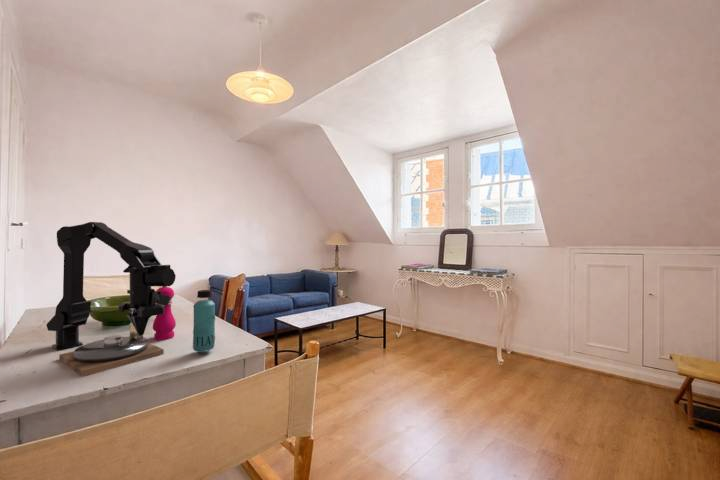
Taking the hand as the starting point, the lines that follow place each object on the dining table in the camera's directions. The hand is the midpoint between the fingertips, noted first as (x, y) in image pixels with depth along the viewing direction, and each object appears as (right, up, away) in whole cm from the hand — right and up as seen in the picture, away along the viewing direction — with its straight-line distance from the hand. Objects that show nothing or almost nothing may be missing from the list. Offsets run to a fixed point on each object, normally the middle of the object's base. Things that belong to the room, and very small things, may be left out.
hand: (141, 335), depth 103 cm
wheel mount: (-6, -5, -4) cm, 9 cm away
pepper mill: (-2, -5, +15) cm, 16 cm away
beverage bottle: (+20, -6, 0) cm, 21 cm away
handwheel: (-6, -4, -4) cm, 8 cm away
